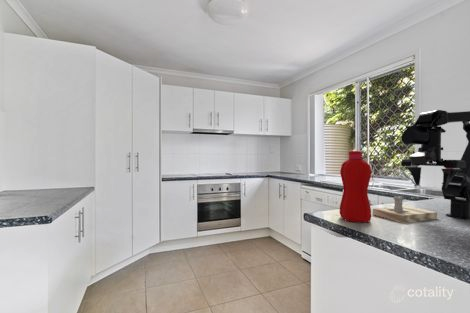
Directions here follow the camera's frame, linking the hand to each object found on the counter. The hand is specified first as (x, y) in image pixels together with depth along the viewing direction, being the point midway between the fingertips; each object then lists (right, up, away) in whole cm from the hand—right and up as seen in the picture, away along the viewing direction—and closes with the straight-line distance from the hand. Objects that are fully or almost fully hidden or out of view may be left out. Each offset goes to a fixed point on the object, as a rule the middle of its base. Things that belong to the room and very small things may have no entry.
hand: (430, 186), depth 89 cm
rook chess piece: (-11, -12, +1) cm, 16 cm away
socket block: (-8, -12, +2) cm, 15 cm away
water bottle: (-29, -12, -3) cm, 31 cm away
